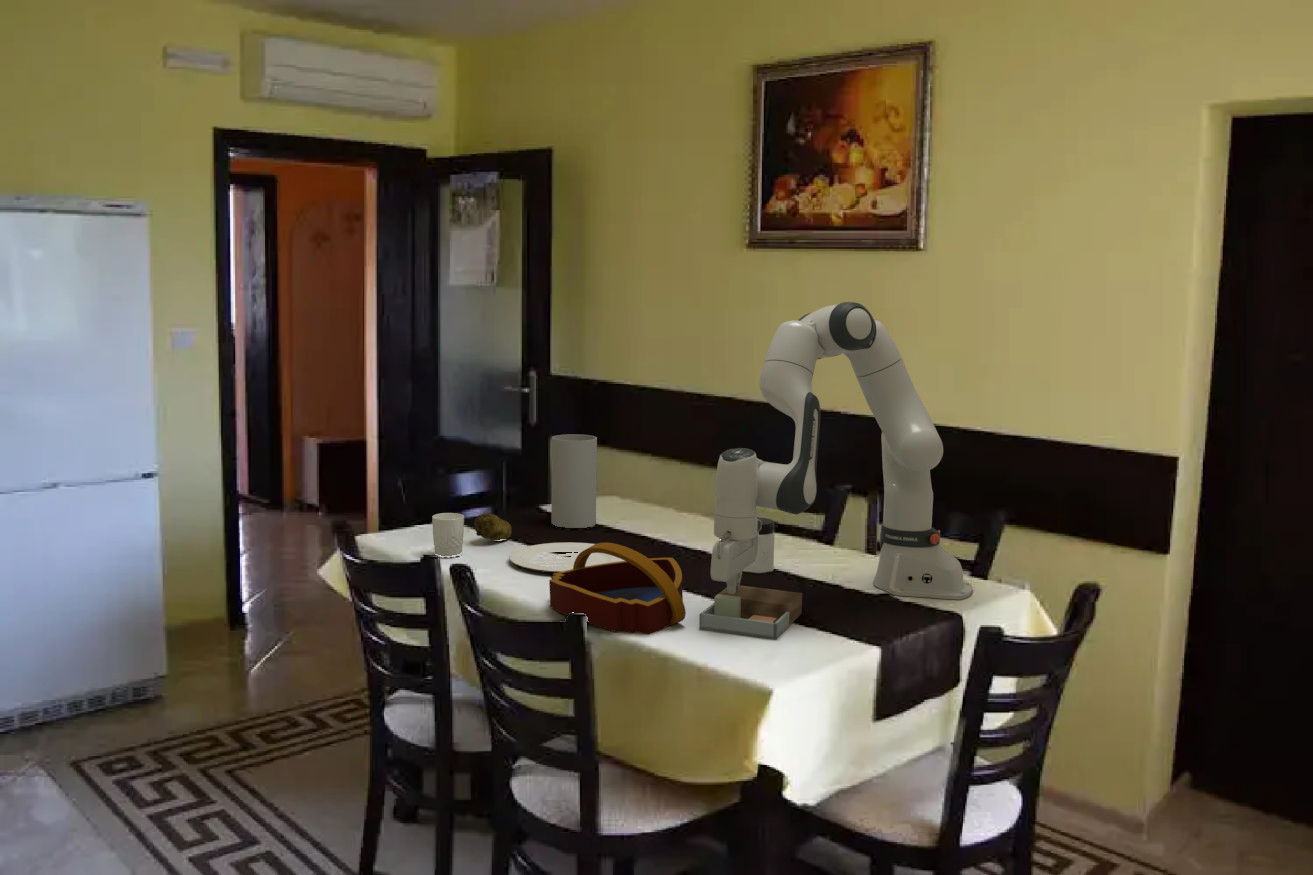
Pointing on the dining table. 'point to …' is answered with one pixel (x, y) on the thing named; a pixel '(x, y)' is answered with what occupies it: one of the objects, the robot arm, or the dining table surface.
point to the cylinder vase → (574, 480)
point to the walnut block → (768, 602)
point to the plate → (523, 555)
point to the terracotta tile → (763, 618)
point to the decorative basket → (621, 590)
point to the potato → (492, 527)
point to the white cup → (448, 533)
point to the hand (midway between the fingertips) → (733, 592)
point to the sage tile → (727, 606)
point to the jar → (764, 549)
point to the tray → (742, 625)
